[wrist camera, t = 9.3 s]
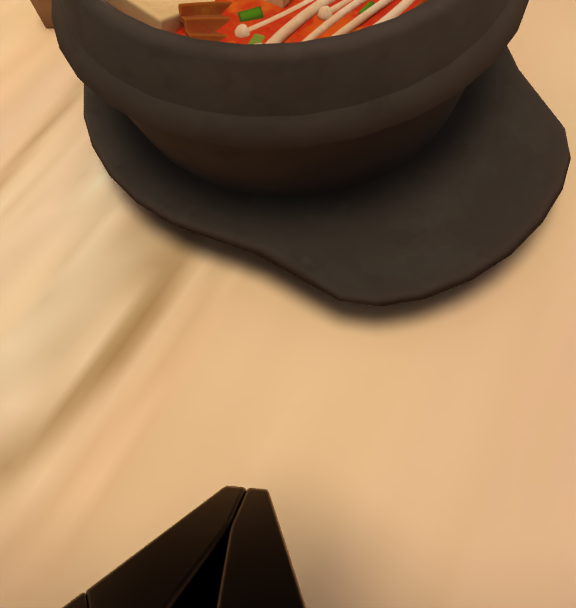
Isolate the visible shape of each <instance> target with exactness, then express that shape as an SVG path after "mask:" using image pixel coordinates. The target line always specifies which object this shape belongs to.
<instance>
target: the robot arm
mask: <svg viewBox="0 0 576 608" xmlns="http://www.w3.org/2000/svg"><path fill="white" fill-rule="evenodd" d="M63 608H306V606H305V603H304V600H303V597H302V594H301V591H300V588H299V584H298V581H297V578H296V575H295V572H294V569H293V566H292V563H291V559H290V556H289V553H288V550H287V547H286V544H285V541H284V538H283V534H282V531H281V528H280V525H279V522H278V519H277V516H276V513H275V509H274V506H273V503H272V500H271V497H270V494H269V492H268V490H266V489H256V488H249V489H247V491H246V489H245V488H244V487H235V486H226V487H224V488H222V489H221V490H220V491H218V492H217V493H216V494H214V495H213V496H212V497H210V498H209V499H208V500H206V501H205V502H204V503H202V504H201V505H200V506H198V507H197V508H196V509H194V510H193V511H192V512H190V513H189V514H188V515H186V516H185V517H184V518H182V519H181V520H180V521H178V522H177V523H176V524H174V525H173V526H172V527H170V528H169V529H168V530H166V531H165V532H164V533H162V534H161V535H160V536H158V537H157V538H156V539H154V540H153V541H152V542H150V543H149V544H148V545H146V546H145V547H144V548H142V549H141V550H140V551H138V552H137V553H136V554H134V555H133V556H132V557H130V558H129V559H128V560H126V561H125V562H124V563H122V564H121V565H120V566H118V567H117V568H116V569H114V570H113V571H112V572H110V573H109V574H108V575H106V576H105V577H104V578H102V579H101V580H100V581H98V582H97V583H96V584H94V585H93V586H92V587H91V588H89V589H88V590H87V591H86V594H85V593H81V594H80V595H79V596H77V597H76V598H75V599H73V600H72V601H71V602H69V603H68V604H67V605H65V606H64V607H63Z"/></svg>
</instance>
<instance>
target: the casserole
mask: <svg viewBox="0 0 576 608" xmlns="http://www.w3.org/2000/svg"><path fill="white" fill-rule="evenodd" d="M528 1H529V0H52V12H51V19H52V22H53V26H54V30H55V33H56V37H57V41H58V44H59V48H60V50H61V51H62V53H63V55H64V56H65V58H66V59H67V61H68V62H69V64H70V66H71V67H72V69H73V70H74V72H75V74H76V75H77V77H78V78H79V79H80V80H81V81H82V82H83V83H84V119H85V122H86V126H87V129H88V133H89V136H90V140H91V143H92V147H93V148H94V150H95V152H96V153H97V155H98V157H99V158H100V160H101V162H102V163H103V165H104V167H105V168H106V170H107V172H108V173H109V175H110V176H111V177H112V178H113V179H114V180H115V181H116V182H117V183H118V184H119V185H120V186H121V187H122V188H123V189H124V190H125V191H126V192H127V193H128V194H129V195H130V196H131V197H132V198H133V199H134V200H135V201H136V202H137V203H139V204H140V205H142V206H144V207H145V208H147V209H149V210H150V211H152V212H153V213H155V214H157V215H158V216H160V217H161V218H163V219H165V220H166V221H168V222H170V223H171V224H174V225H176V226H179V227H182V228H185V229H188V230H191V231H193V232H196V233H199V234H202V235H205V236H207V237H210V238H213V239H216V240H219V241H222V242H224V243H227V244H230V245H233V246H236V247H239V248H242V249H244V250H247V251H250V252H253V253H256V254H258V255H260V256H262V257H264V258H265V259H267V260H269V261H271V262H272V263H274V264H276V265H278V266H279V267H281V268H283V269H285V270H286V271H288V272H290V273H292V274H294V275H295V276H297V277H299V278H301V279H302V280H304V281H306V282H308V283H309V284H311V285H313V286H315V287H316V288H318V289H320V290H322V291H324V292H325V293H327V294H329V295H331V296H332V297H334V298H336V299H338V300H340V301H347V302H355V303H362V304H369V305H377V306H386V305H391V304H397V303H403V302H408V301H414V300H420V299H425V298H428V297H430V296H433V295H435V294H438V293H440V292H443V291H445V290H448V289H450V288H453V287H455V286H458V285H460V284H463V283H465V282H468V281H470V280H472V279H474V278H475V277H477V276H478V275H480V274H481V273H483V272H484V271H486V270H488V269H489V268H491V267H492V266H494V265H495V264H497V263H498V262H500V261H502V260H503V259H505V258H506V257H508V256H509V255H511V254H512V253H513V252H514V251H515V250H516V249H517V248H518V247H519V246H520V245H521V244H522V243H523V242H524V241H525V240H526V239H527V238H528V237H529V236H530V235H531V234H532V233H533V232H534V231H535V229H536V228H537V227H538V226H539V225H540V224H541V223H542V222H543V221H544V219H545V217H546V216H547V214H548V212H549V211H550V209H551V207H552V206H553V204H554V202H555V201H556V199H557V198H558V196H559V194H560V193H561V191H562V189H563V186H564V182H565V178H566V174H567V171H568V167H569V163H570V159H571V158H570V152H569V147H568V142H567V137H566V132H565V128H564V127H563V125H562V124H561V123H560V122H559V120H558V119H557V118H556V116H555V115H554V114H553V113H552V111H551V110H550V109H549V108H548V106H547V105H546V104H545V102H544V101H543V100H542V99H541V97H540V96H539V95H538V93H537V92H536V91H535V90H534V88H533V87H532V86H531V85H530V83H529V82H528V81H527V79H526V78H525V77H524V76H523V74H522V73H521V72H520V71H519V69H518V67H517V65H516V63H515V61H514V59H513V57H512V55H511V53H510V51H509V49H508V47H507V44H508V43H509V42H510V40H511V39H512V38H513V36H514V35H515V34H516V32H517V31H518V28H519V26H520V23H521V20H522V18H523V15H524V12H525V9H526V7H527V4H528Z"/></svg>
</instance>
